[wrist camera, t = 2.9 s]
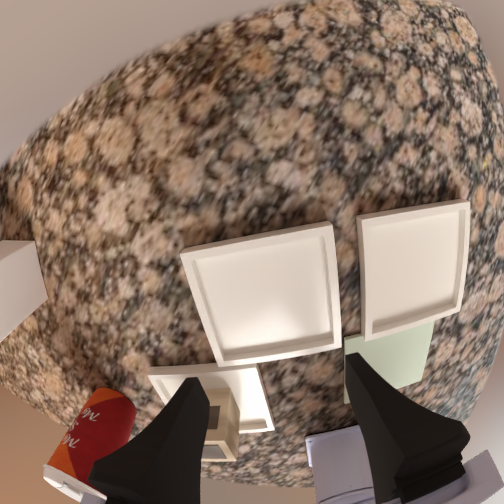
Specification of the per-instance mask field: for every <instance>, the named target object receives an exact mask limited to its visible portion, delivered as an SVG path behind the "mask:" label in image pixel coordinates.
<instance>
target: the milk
mask: <svg viewBox="0 0 504 504" xmlns="http://www.w3.org/2000/svg"><path fill="white" fill-rule="evenodd" d="M47 299H48V295H47V292H46V288H45V284H44V281H43V277H42V273H41V268H40V264H39V259H38V255H37V249H36V244H35V241H18V240H2V241H0V342H1V341H2V340H3V339H4V338H5V337H6V336H7V335H9V334H10V333H11V332H12V331H13V330H14V329H15V328H16V327H17V326H18V325H19V324H20V323H21V322H22V321H24V320H25V319H26V318H27V317H28V316H29V315H30V314H31V313H32V312H34V311H35V310H36V309H37V308H38V307H39V306H40V305H42V304H43V303H44V302H45V301H46V300H47Z"/></svg>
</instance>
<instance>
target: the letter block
mask: <svg viewBox="0 0 504 504" xmlns="http://www.w3.org/2000/svg"><path fill="white" fill-rule="evenodd" d="M204 391H205V393H206V395H207V397H208V399H209V401H210V412H209V422H208V427H207V433H206V438H205V443H204V448H203V453H202V459H201V461H237V453H238V438H239V424H240V410H239V408H238V406H237V403H236V401H235V398H234V396H233V393H232V391H231V388H221V389H207V390H204Z"/></svg>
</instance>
